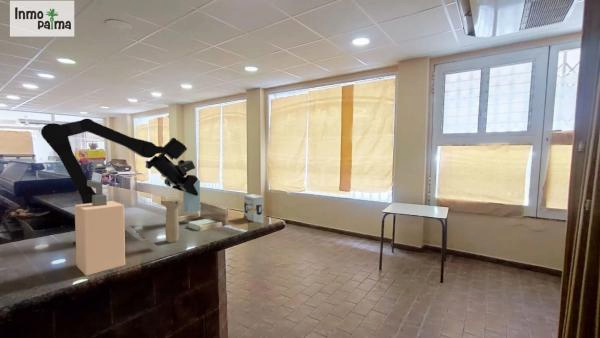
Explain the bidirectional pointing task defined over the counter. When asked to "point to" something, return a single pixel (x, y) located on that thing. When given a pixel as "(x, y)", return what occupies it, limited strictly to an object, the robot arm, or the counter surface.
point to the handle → (172, 218)
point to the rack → (210, 215)
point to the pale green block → (200, 223)
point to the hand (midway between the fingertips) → (194, 194)
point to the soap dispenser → (99, 233)
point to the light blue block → (192, 199)
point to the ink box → (253, 208)
